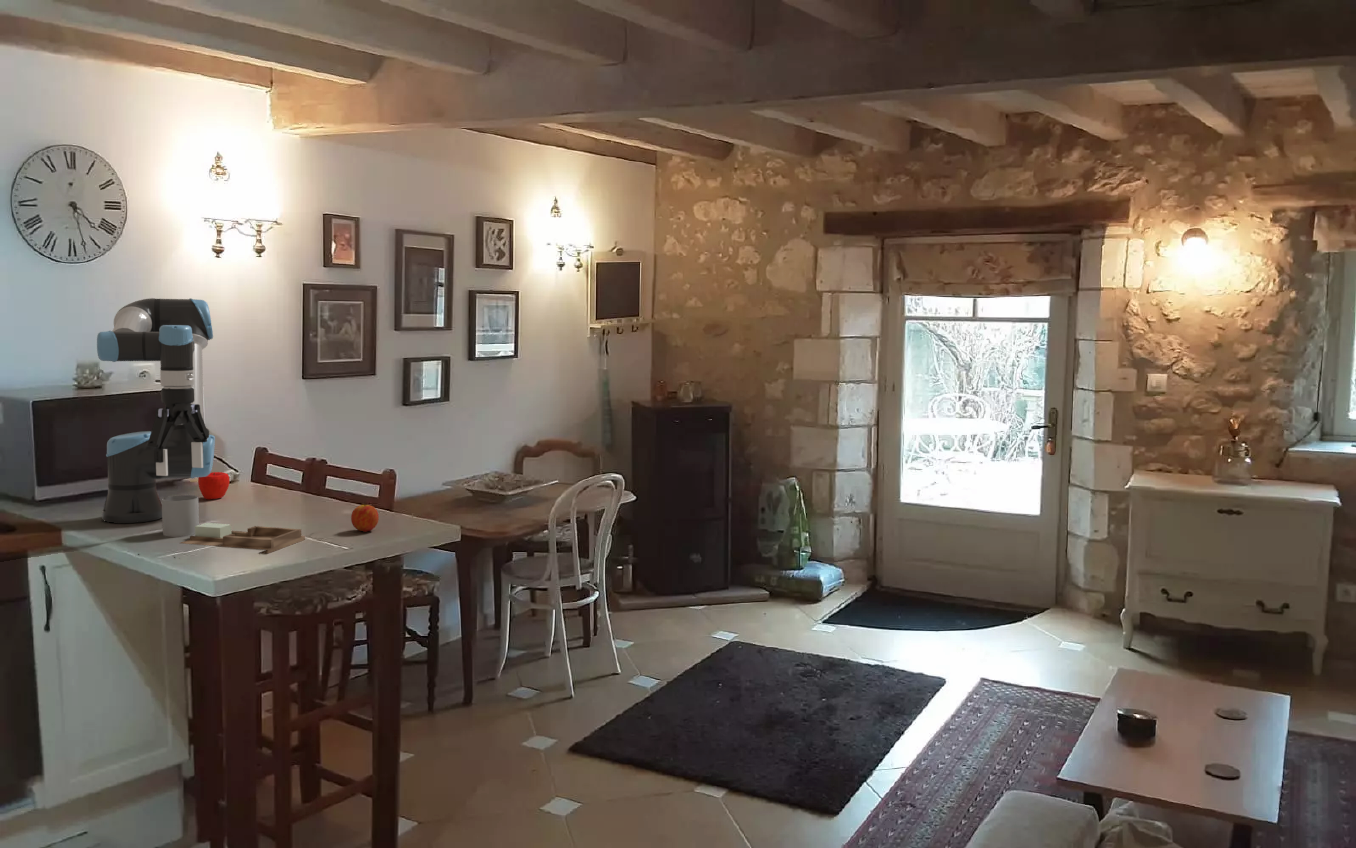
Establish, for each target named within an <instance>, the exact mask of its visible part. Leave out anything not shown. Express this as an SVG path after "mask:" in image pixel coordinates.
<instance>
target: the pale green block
mask: <svg viewBox="0 0 1356 848" xmlns="http://www.w3.org/2000/svg"><path fill="white" fill-rule="evenodd" d="M231 531H232V524H229V523H217V522H216V523H215V522H205V523H202V524H199V525H198V526H195V535H194V536H202V537H215V538H223V536H226V535H229V534H232V532H231Z"/></svg>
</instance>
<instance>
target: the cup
mask: <svg viewBox="0 0 1356 848" xmlns="http://www.w3.org/2000/svg"><path fill="white" fill-rule="evenodd" d="M161 504H162V518H161V520H162V535H163V536H164V537H172V538H173V537H177V538H179V537H188V536H189V537H190V536H195V526H198V525H200V517H199V516H200V513H199V512H200V510H199V508H200V507H199V496H197V495H193V494H191V495H190V494H179V495H178V494H177V495H169V496H165V497H162V498H161Z"/></svg>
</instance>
